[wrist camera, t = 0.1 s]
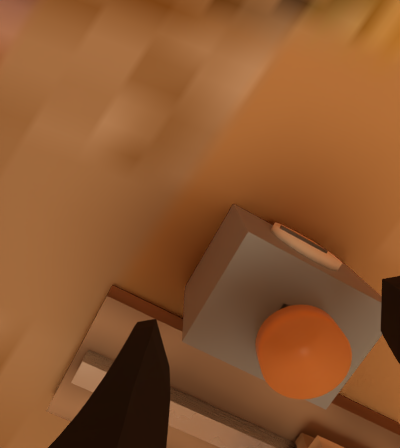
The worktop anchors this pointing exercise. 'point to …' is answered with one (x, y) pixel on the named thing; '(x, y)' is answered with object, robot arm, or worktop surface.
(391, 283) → the robot arm
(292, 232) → the gauge box
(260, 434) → the guide rail
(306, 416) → the board
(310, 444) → the carriage
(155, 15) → the worktop surface
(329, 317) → the button
